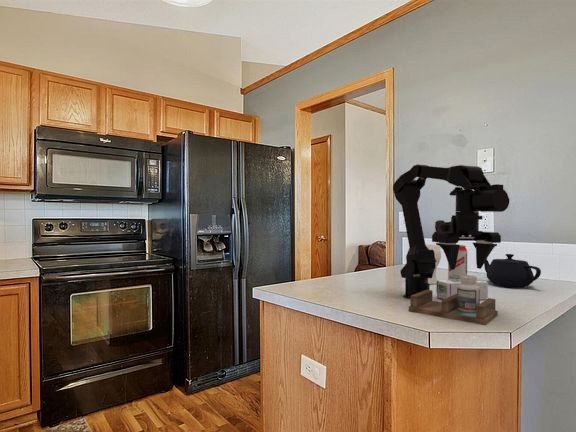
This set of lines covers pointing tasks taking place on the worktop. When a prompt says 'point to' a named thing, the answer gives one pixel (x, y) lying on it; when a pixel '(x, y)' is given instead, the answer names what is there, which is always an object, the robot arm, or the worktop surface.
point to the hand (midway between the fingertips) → (465, 269)
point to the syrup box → (450, 288)
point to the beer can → (459, 265)
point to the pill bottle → (468, 294)
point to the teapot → (510, 272)
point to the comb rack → (452, 308)
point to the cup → (437, 257)
